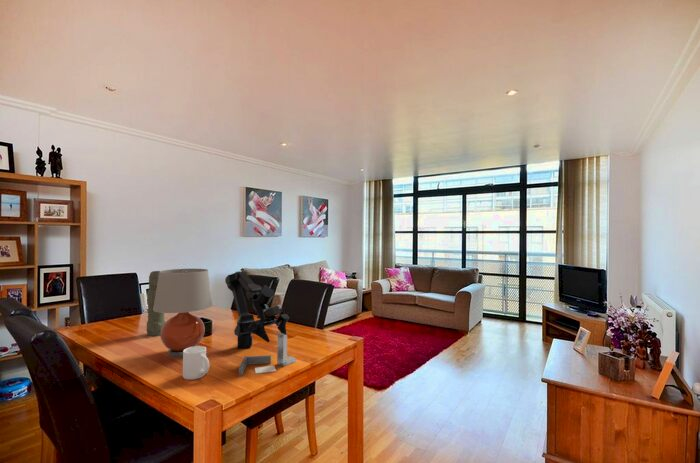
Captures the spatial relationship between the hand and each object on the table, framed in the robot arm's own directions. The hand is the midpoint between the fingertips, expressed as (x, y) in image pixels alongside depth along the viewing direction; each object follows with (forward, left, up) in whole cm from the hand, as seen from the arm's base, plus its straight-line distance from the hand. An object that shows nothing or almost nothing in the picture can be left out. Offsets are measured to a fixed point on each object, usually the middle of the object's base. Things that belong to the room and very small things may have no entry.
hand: (277, 339), depth 144 cm
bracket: (+4, -1, -10) cm, 11 cm away
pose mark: (-4, -7, -10) cm, 13 cm away
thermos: (-70, +49, -10) cm, 86 cm away
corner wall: (-8, -6, -10) cm, 14 cm away
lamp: (-45, +17, -10) cm, 49 cm away
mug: (-30, -11, -10) cm, 33 cm away
